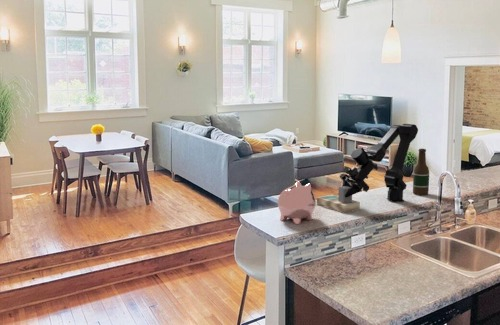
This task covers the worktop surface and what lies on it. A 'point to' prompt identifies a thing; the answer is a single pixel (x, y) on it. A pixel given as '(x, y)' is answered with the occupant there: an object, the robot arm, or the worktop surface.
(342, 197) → the grey block
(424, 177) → the beer bottle
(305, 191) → the piggy bank
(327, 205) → the stand
